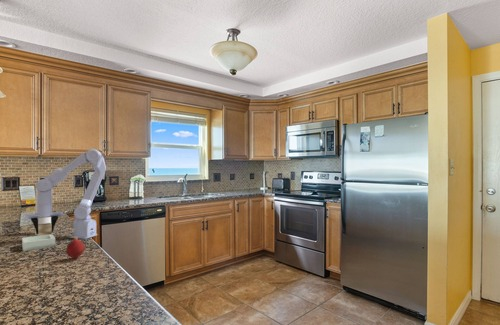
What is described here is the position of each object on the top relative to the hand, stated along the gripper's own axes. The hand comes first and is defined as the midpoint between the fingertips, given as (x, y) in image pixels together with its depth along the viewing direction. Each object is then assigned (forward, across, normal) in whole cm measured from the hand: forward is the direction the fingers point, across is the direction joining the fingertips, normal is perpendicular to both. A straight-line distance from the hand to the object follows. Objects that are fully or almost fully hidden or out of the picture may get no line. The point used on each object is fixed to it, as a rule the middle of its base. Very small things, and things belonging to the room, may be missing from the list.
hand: (44, 232), depth 133 cm
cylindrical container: (+3, -1, -17) cm, 17 cm away
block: (+2, 0, 0) cm, 2 cm away
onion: (+4, -6, +43) cm, 44 cm away
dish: (+3, +3, +12) cm, 13 cm away
